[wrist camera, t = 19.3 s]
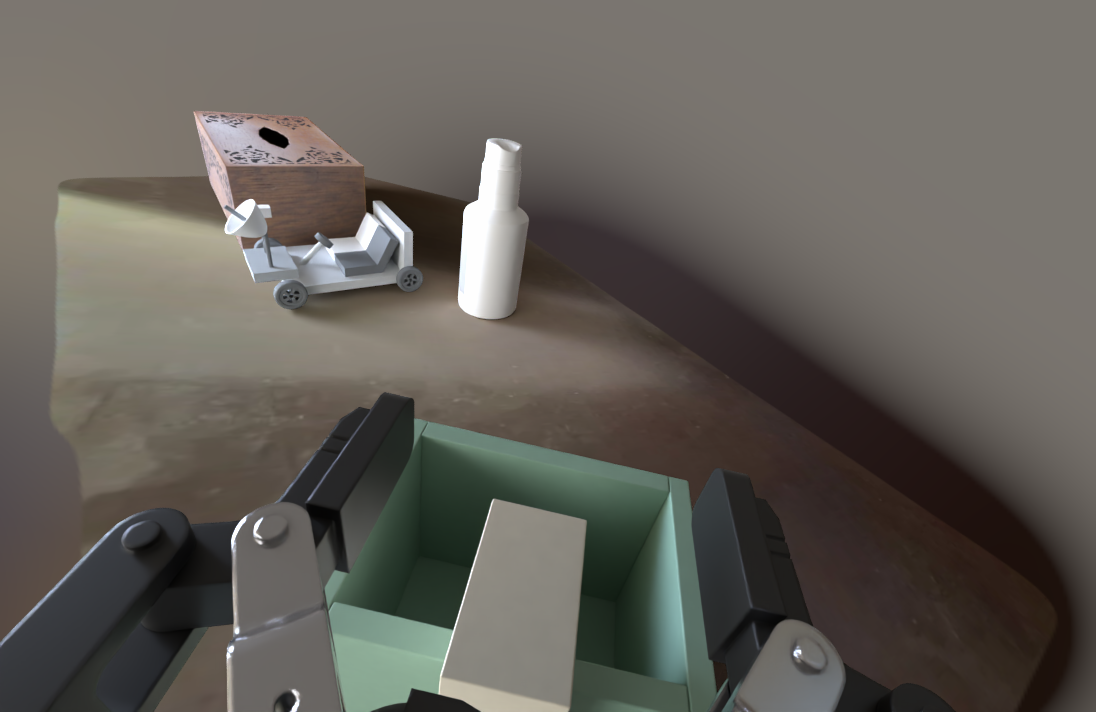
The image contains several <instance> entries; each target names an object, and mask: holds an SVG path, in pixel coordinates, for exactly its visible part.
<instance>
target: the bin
mask: <svg viewBox="0 0 1096 712" xmlns="http://www.w3.org/2000/svg"><path fill="white" fill-rule="evenodd" d="M493 499H498V500H502V501H506V502H511V503H515V504H519V505H524V506H528V507H532V508H537V509H541V510H545V511H550V512H554V513H558V514H562V515H567V516H571V517H575V518H580V519H584V520H587V527H586V539H585V550H584V562H583V573H582V585H581V596H580V608H579V620H578V631H577V643H576V654H575V666H574V678H573V689H572V701H571V708H570V710H569V712H706V711H707V709H708V708H709V706H710V705H711V703H712V701H713V700H714V698H715V696H716V695H717V689H716V682H715V675H714V667H713V661H712V660H709V659H708V651H707V643H706V635H705V628H704V620H703V612H702V605H701V597H700V589H699V581H698V574H697V566H696V558H695V550H694V543H693V535H692V525H691V523H692V507H691V500H690V492H689V485H688V481H685V480H681V479H677V478H672V477H668V476H664V475H660V474H656V473H651V472H647V471H643V470H638V469H634V468H629V467H625V466H621V465H616V464H612V463H608V462H603V461H599V460H595V459H590V458H586V457H581V456H577V455H573V454H568V453H564V452H560V451H555V450H551V449H547V448H542V447H538V446H534V445H529V444H525V443H520V442H516V441H512V440H507V439H503V438H499V437H494V436H490V435H486V434H481V433H477V432H472V431H468V430H464V429H459V428H455V427H451V426H446V425H442V424H438V423H433V422H429V423H428V421H424V420H420V419H415V418H414V445H413V449H412V453H411V456H410V459H409V461H408V463H407V465H406V467H405V469H404V471H403V473H402V474H401V476H400V478H399V480H398V482H397V484H396V486H395V488H394V490H393V492H392V493H391V495H390V497H389V499H388V501H387V503H386V505H385V507H384V509H383V511H382V512H381V514H380V516H379V518H378V520H377V522H376V524H375V526H374V528H373V530H372V531H371V533H370V535H369V537H368V539H367V541H366V543H365V545H364V547H363V548H362V550H361V552H360V554H359V556H358V558H357V560H356V562H355V564H354V566H353V567H352V569H351V571H350V573H345V572H340V571H336V570H334V572H333V574H332V576H331V578H330V579H329V581H328V583H327V585H326V586H325V593H326V599H327V604H328V610H329V616H330V622H331V627H332V633H333V639H334V645H335V650H336V656H337V662H338V667H339V673H340V678H341V683H342V689H343V694H344V700H345V705H346V711H347V712H370V711H373V710H376V709H378V708H381V707H384V706H388V705H392V704H397V703H406V702H407V700H408V697H409V694H410V691H411V688H414V689H418V690H422V691H426V692H430V693H435V694H438V693H439V682H440V674H441V671H442V668H443V664H444V661H445V658H446V654H447V651H448V648H449V644H450V641H451V637H452V634H453V631H454V627H455V624H456V621H457V617H458V614H459V611H460V607H461V604H462V601H463V597H464V594H465V591H466V587H467V584H468V580H469V577H470V574H471V570H472V567H473V564H474V560H475V557H476V554H477V550H478V547H479V544H480V540H481V537H482V534H483V530H484V527H485V523H486V520H487V517H488V513H489V510H490V507H491V503H492V500H493Z"/></svg>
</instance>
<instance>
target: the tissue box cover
mask: <svg viewBox="0 0 1096 712" xmlns="http://www.w3.org/2000/svg"><path fill="white" fill-rule="evenodd" d="M194 115H195V119H196V124H197V128H198V132H199V136H200V140H201V145H202V149H203V153H204V158H205V162H206V166H207V170H208V174H209V179H210V183H211V186H212V188H213V190H214V192H215V194H216V196H217V198H218V200H219V202H220V204H221V206H222V209H223V211H224V213H225V215H226V217H227V219H229V218H230V216H231V215H232V213H230V212H229V211H227V210H226V209H224V208H223V207H224V206H225V205H228V206H229V207H230V208H232V209H233V210H236V209H237V208H238V207H239V206H240V205H241V204H242V203H243V202H245V201H247V200H249V199H253V200H254V201H255V203H256V204H257V205H269V207H270V209H271V215H272V218H265V220H266V223H267V234H268V237H269V238H274V239H276V240H278V241H279V242H280V243H281V244H282V245H283V246H285V247H290V246H302V245H315V244H317V243H318V242H319V241H318V240H317V239H316V238H315V237H314V236H315V235H316V234H317V233H318V232H320V233H321V234H323V235H324V236H325V237H327V238H328V239H335V238H348V237H355V236H356V234H357V232H358V230H359V228H360V225H361V223H362V221H363V219H364V217H365V215H366V198H365V179H364V166H363V165H362V164H361V163H359V162H358V161H357V160H356V159H355V158H354V157H352V156H351V155H350V154H349V153H348V152H346V151H345V150H344V149H343V148H342V147H341V146H339V145H338V144H337V143H336V142H335V141H334V140H332V139H331V138H330V137H329V136H328V135H327V134H325V133H324V132H323V131H322V130H321V129H319V128H318V127H317V126H316V125H315V124H314V123H313V122H311V121H310V120H309V119H308V118H307V117H296V116H279V115H260V114H242V113H223V112H205V111H204V112H203V111H194ZM235 236H236V235H235ZM236 238H237V240H238V242H239V244H240V246H241V248H242V250H243V249H253V248H254V246H255V244H256V242H257V241H258V240H260V239H262V237H258V238H248V237H241V236H236ZM243 252H244V251H243Z"/></svg>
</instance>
